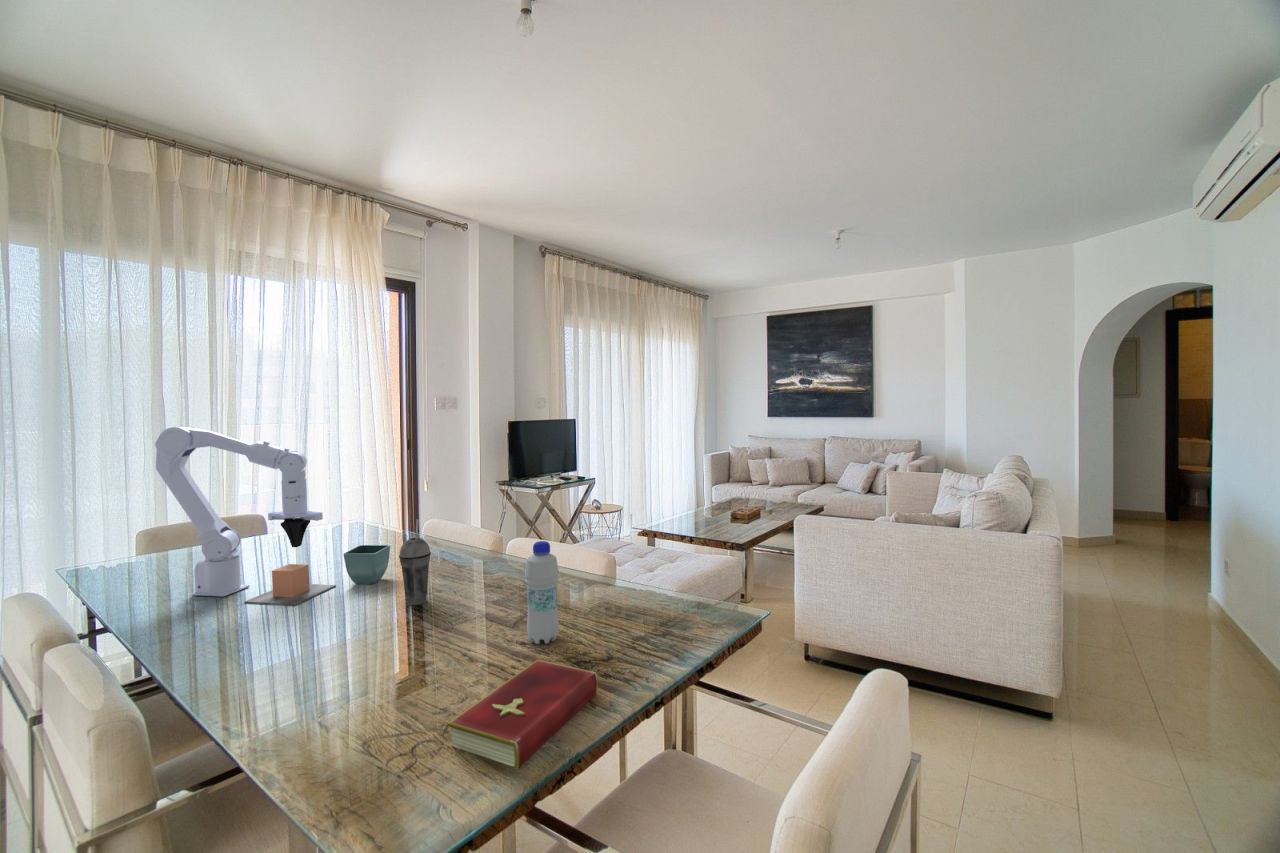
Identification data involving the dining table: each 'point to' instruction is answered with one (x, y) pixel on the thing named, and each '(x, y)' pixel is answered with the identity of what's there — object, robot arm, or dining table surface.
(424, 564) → the beverage cup
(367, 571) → the flower pot
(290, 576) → the block
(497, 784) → the dining table surface
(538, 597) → the bottle
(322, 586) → the post block
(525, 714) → the hardcover book
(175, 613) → the dining table surface
